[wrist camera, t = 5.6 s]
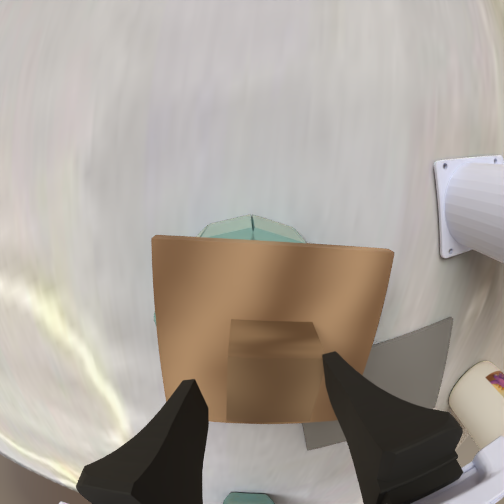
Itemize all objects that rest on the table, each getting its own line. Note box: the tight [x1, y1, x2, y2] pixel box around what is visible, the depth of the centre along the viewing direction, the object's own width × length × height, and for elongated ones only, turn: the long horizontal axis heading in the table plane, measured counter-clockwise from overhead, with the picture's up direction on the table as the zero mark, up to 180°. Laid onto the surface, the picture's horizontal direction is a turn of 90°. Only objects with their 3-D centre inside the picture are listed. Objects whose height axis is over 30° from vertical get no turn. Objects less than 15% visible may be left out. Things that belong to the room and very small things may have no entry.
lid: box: [152, 235, 394, 424], centre depth 15 cm, size 13×13×4 cm
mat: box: [302, 317, 453, 450], centre depth 24 cm, size 16×13×1 cm
